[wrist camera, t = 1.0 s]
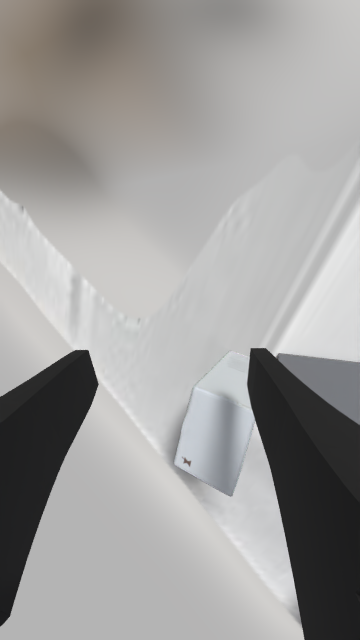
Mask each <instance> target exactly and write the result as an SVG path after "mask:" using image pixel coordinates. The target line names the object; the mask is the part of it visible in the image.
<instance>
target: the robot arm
mask: <svg viewBox="0 0 360 640" xmlns="http://www.w3.org/2000/svg"><path fill="white" fill-rule="evenodd" d="M97 387H98V381H97V377H96V374H95V371H94V367H93V364H92V361H91V357H90V354H89V351H88V350H75V351H73V352H71V353H69V354H68V355H66V356H64V357H63V358H61V359H60V360H58V361H57V362H55V363H54V364H52V365H51V366H49V367H48V368H46V369H44V370H43V371H41V372H40V373H38V374H37V375H35V376H34V377H32V378H31V379H29V380H27V381H26V382H24V383H23V384H21V385H19V386H18V387H16V388H15V389H13V390H11V391H9V392H8V393H6V394H5V395H3V396H1V397H0V626H1V625H3V624H4V623H5V621H6V620H7V619H8V618H9V617H10V614H11V611H12V607H13V603H14V600H15V597H16V593H17V590H18V587H19V584H20V580H21V577H22V574H23V571H24V567H25V564H26V561H27V557H28V555H29V552H30V549H31V545H32V543H33V540H34V537H35V534H36V531H37V528H38V525H39V522H40V520H41V517H42V514H43V511H44V509H45V506H46V503H47V500H48V498H49V495H50V492H51V490H52V487H53V485H54V482H55V480H56V477H57V474H58V472H59V470H60V467H61V465H62V463H63V461H64V458H65V456H66V454H67V452H68V450H69V448H70V446H71V444H72V442H73V440H74V438H75V436H76V434H77V432H78V430H79V429H80V426H81V425H82V423H83V421H84V419H85V417H86V415H87V413H88V410H89V409H90V407H91V404H92V402H93V399H94V396H95V393H96V390H97ZM247 388H248V394H249V399H250V404H251V408H252V411H253V414H254V418H255V421H256V424H257V427H258V430H259V433H260V436H261V440H262V443H263V446H264V449H265V452H266V455H267V458H268V462H269V465H270V469H271V472H272V477H273V481H274V486H275V490H276V495H277V499H278V504H279V508H280V513H281V518H282V523H283V527H284V532H285V537H286V542H287V547H288V552H289V557H290V562H291V568H292V573H293V578H294V583H295V589H296V594H297V600H298V605H299V611H300V616H301V622H302V628H303V634H304V639H305V640H360V425H359V424H357V423H356V422H355V421H353V420H352V419H350V418H349V417H347V416H346V415H344V414H343V413H342V412H340V411H339V410H337V409H336V408H335V407H333V406H332V405H330V404H329V403H328V402H326V401H325V400H324V399H323V398H321V397H320V396H319V395H318V394H316V393H315V392H314V391H313V390H311V389H310V388H309V387H308V386H306V385H305V384H304V383H303V382H302V381H301V380H299V379H298V378H297V377H296V376H295V375H294V374H293V373H292V372H290V371H289V370H288V369H287V368H286V367H285V366H284V365H283V364H282V363H281V362H280V361H279V360H277V359H276V358H275V357H274V356H273V355H272V354H271V353H270V352H269V351H268V350H267V349H266V348H251V351H250V360H249V369H248V379H247Z"/></svg>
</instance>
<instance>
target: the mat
mask: <svg viewBox="0 0 360 640" xmlns="http://www.w3.org/2000/svg"><path fill="white" fill-rule="evenodd" d="M278 360H279V361H280V362H281V363H282V364H283V365H284V366H285V367H286V368H287V369H288V370H289V371H290V372H292V373H293V374H294V375H295V376H296V377H297V378H298V379H299V380H301V381H302V382H303V383H304V384H305V385H306V386H308V387H309V388H310V389H311V390H313V391H314V392H315V393H316V394H318V395H319V396H320V397H321V398H323V399H324V400H325V401H326V402H328V403H329V404H330V405H332V406H333V407H335V408H336V409H337V410H339V411H340V412H342V413H343V414H344V415H346V416H347V417H349V418H350V419H352V420H353V421H355V422H356V423H357V424H359V425H360V362H351V361H342V360H334V359H325V358H316V357H308V356H299V355H290V354H282V353H279V357H278Z"/></svg>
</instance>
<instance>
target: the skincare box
mask: <svg viewBox="0 0 360 640" xmlns="http://www.w3.org/2000/svg"><path fill="white" fill-rule="evenodd" d="M249 360H250V357H248V356H245V355H242V354H239V353H236V352H233V351H229V352H228V353H227V354H226V355H225V356H224V357H223V358H222V359H221V360H220V361H219V362H218V363H217V364H216V365H215V366H214V367H213V368H212V369H211V370H210V371H209V372H208V373H207V374H206V375H205V376H204V377H203V378H202V379H201V380H200V381H199V382H197V383H196V384H195V385H194V387H193V389H192V393H191V397H190V401H189V405H188V408H187V412H186V416H185V419H184V421H183V425H182V429H181V435H180V439H179V443H178V447H177V452H176V456H175V460H174V465H175V466H177V467H179V468H180V469H182V470H184V471H186V472H187V473H189V474H191V475H193V476H194V477H196V478H198V479H200V480H201V481H203V482H205V483H206V484H208V485H210V486H212V487H213V488H215V489H217V490H219V491H221V492H222V493H224V494H226V495H228V496H230V497H231V496H232V495H233V492H234V490H235V487H236V484H237V481H238V478H239V475H240V472H241V469H242V465H243V462H244V458H245V455H246V451H247V448H248V444H249V441H250V437H251V434H252V430H253V427H254V423H255V418H254V414H253V411H252V408H251V404H250V399H249V394H248V388H247V379H248V369H249Z"/></svg>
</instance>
